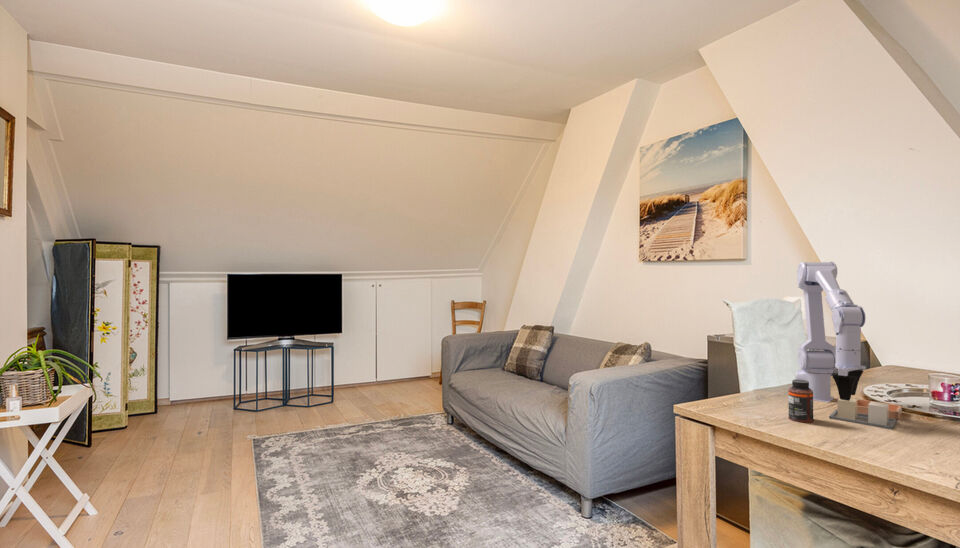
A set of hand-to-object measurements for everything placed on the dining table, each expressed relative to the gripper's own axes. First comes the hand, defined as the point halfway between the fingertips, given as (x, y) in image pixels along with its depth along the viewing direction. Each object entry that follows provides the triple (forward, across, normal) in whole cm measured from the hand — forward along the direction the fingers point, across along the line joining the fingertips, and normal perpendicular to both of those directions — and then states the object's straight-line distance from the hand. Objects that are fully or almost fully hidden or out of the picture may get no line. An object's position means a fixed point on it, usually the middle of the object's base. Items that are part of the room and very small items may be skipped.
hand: (847, 397), depth 146 cm
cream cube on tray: (+6, 0, -7) cm, 9 cm away
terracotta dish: (+6, +11, -5) cm, 14 cm away
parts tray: (+6, 0, -4) cm, 7 cm away
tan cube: (+6, 0, 0) cm, 6 cm away
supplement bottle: (+6, -11, +9) cm, 16 cm away
